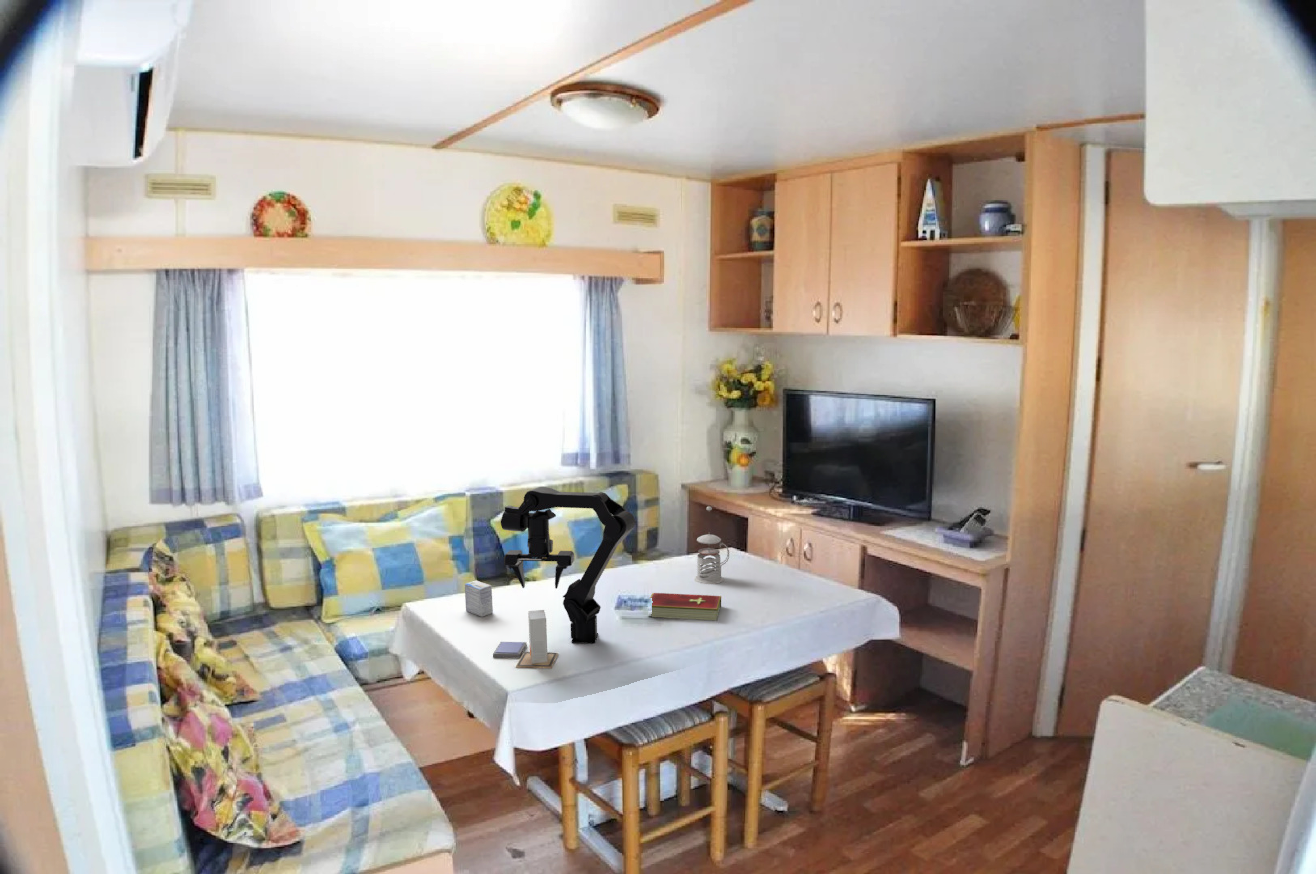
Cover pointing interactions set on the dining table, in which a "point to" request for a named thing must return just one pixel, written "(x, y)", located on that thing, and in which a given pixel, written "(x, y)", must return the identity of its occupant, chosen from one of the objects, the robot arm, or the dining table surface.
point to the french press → (709, 560)
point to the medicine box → (478, 598)
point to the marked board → (526, 663)
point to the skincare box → (538, 636)
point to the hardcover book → (685, 606)
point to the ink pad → (510, 649)
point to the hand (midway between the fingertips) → (540, 587)
